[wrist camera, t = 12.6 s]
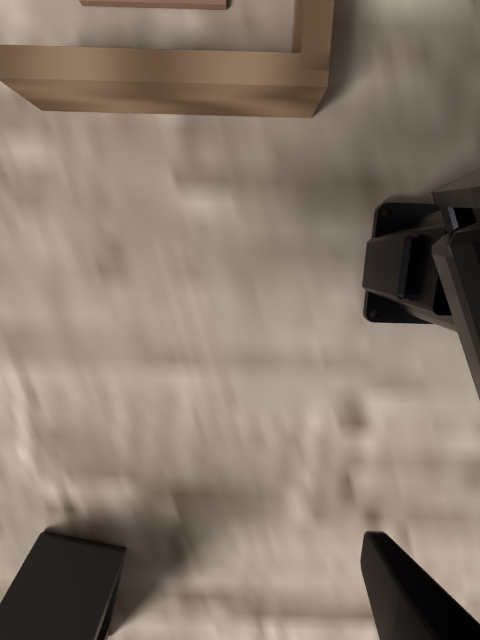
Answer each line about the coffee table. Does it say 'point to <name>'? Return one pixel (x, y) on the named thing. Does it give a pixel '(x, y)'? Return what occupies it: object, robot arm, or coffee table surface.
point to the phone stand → (63, 591)
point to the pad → (159, 3)
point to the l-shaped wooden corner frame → (180, 75)
